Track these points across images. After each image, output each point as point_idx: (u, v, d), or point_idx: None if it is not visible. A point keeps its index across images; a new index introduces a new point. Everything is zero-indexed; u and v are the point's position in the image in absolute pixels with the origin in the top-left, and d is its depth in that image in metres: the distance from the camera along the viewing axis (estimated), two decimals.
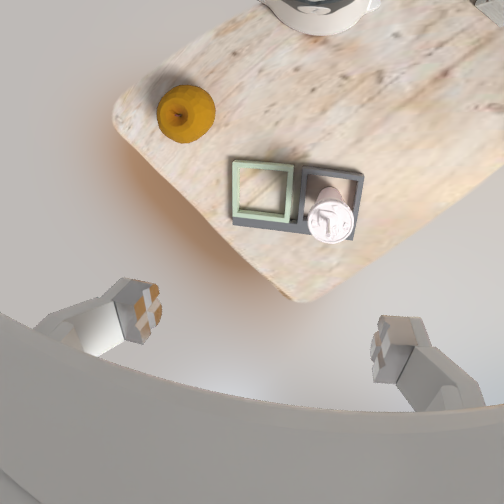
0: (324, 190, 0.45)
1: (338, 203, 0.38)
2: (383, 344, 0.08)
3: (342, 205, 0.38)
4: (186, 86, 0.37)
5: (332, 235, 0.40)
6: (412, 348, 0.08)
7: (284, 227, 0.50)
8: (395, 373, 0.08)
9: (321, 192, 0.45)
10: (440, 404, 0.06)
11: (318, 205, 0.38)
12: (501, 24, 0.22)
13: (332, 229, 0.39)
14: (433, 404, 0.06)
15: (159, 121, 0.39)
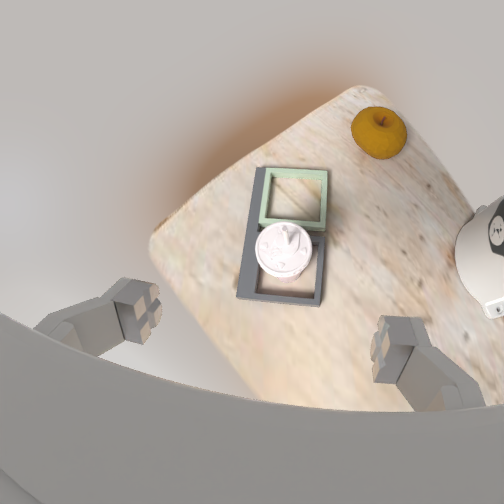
0: None
1: (309, 254, 0.32)
2: (383, 344, 0.08)
3: (307, 259, 0.32)
4: (406, 133, 0.39)
5: (266, 250, 0.33)
6: (412, 348, 0.08)
7: (252, 218, 0.44)
8: (395, 373, 0.08)
9: None
10: (440, 404, 0.06)
11: (305, 232, 0.33)
12: None
13: (275, 249, 0.33)
14: (433, 404, 0.06)
15: (375, 107, 0.40)
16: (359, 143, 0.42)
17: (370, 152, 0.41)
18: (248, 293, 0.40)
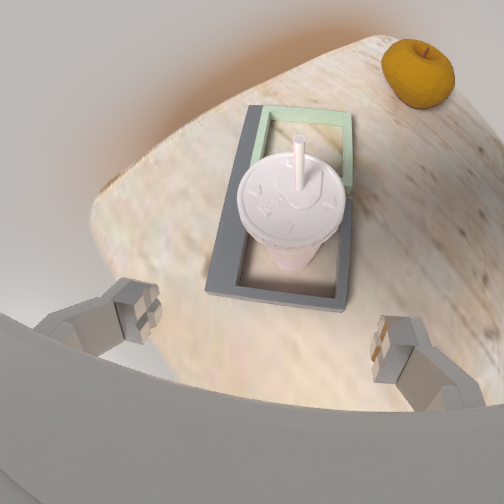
0: None
1: (341, 209, 0.16)
2: (383, 344, 0.08)
3: (337, 217, 0.16)
4: None
5: (258, 198, 0.17)
6: (412, 348, 0.08)
7: (239, 169, 0.28)
8: (395, 373, 0.08)
9: None
10: (440, 404, 0.06)
11: (332, 170, 0.17)
12: None
13: (276, 196, 0.17)
14: (433, 404, 0.06)
15: None
16: (394, 80, 0.26)
17: (410, 92, 0.25)
18: (225, 285, 0.24)
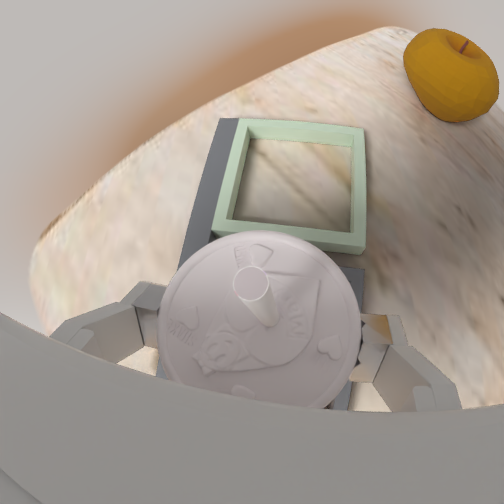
0: None
1: (351, 362, 0.08)
2: None
3: (341, 381, 0.08)
4: None
5: (192, 335, 0.09)
6: (387, 347, 0.08)
7: (199, 218, 0.19)
8: (371, 372, 0.08)
9: None
10: (412, 405, 0.06)
11: (339, 275, 0.09)
12: None
13: (224, 336, 0.08)
14: (406, 405, 0.06)
15: None
16: (423, 83, 0.18)
17: (445, 100, 0.17)
18: None
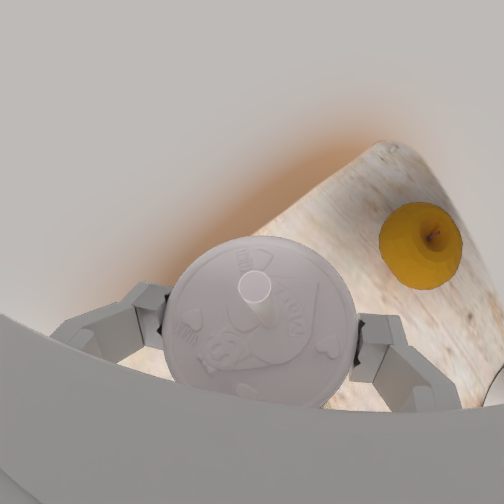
0: None
1: (348, 361, 0.08)
2: (358, 342, 0.09)
3: (339, 379, 0.08)
4: None
5: (197, 336, 0.09)
6: (387, 347, 0.08)
7: None
8: (371, 372, 0.08)
9: None
10: (412, 405, 0.06)
11: (336, 278, 0.09)
12: None
13: (227, 337, 0.09)
14: (406, 405, 0.06)
15: (423, 205, 0.25)
16: (389, 266, 0.27)
17: (404, 283, 0.26)
18: None
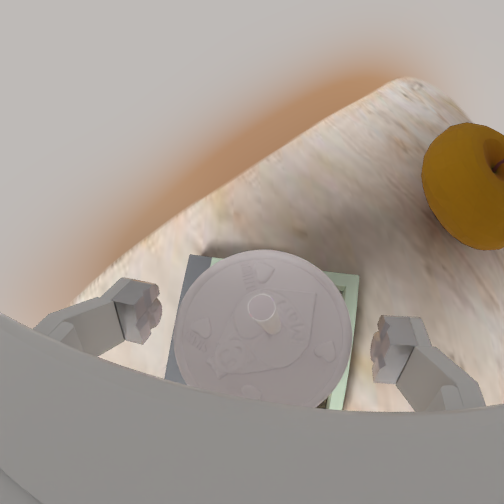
0: None
1: (344, 364, 0.09)
2: (383, 344, 0.08)
3: (335, 380, 0.09)
4: None
5: (206, 343, 0.10)
6: (412, 348, 0.08)
7: None
8: (395, 373, 0.08)
9: None
10: (440, 404, 0.06)
11: (333, 288, 0.10)
12: None
13: (234, 343, 0.10)
14: (433, 404, 0.06)
15: (479, 125, 0.14)
16: (442, 212, 0.16)
17: (465, 239, 0.15)
18: None
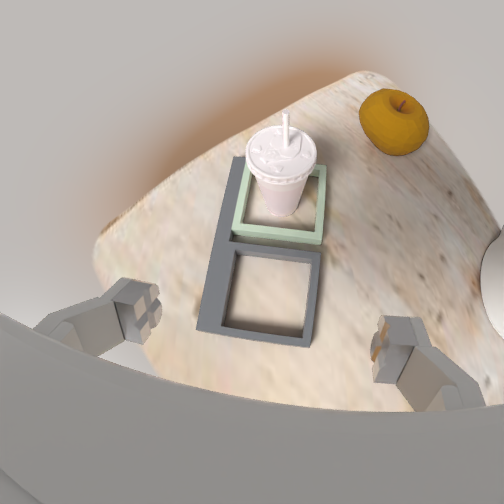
0: None
1: (314, 158, 0.25)
2: (383, 344, 0.08)
3: (311, 162, 0.25)
4: (428, 125, 0.29)
5: (259, 153, 0.25)
6: (412, 348, 0.08)
7: (224, 222, 0.32)
8: (395, 373, 0.08)
9: None
10: (440, 404, 0.06)
11: (307, 135, 0.26)
12: None
13: (271, 150, 0.25)
14: (433, 404, 0.06)
15: None
16: (369, 132, 0.32)
17: (383, 144, 0.31)
18: (212, 326, 0.29)
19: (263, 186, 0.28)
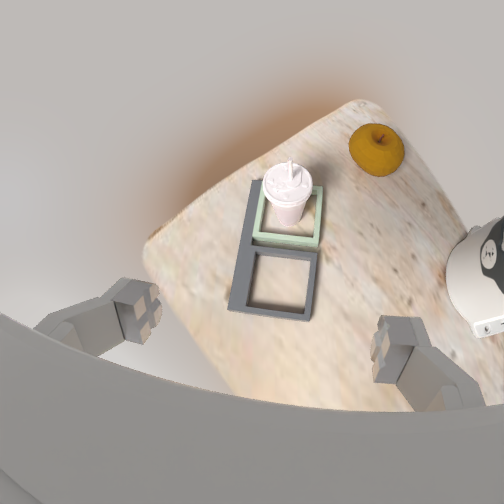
0: None
1: (310, 187, 0.36)
2: (383, 344, 0.08)
3: (308, 191, 0.36)
4: None
5: (272, 184, 0.37)
6: (412, 348, 0.08)
7: (246, 231, 0.44)
8: (395, 373, 0.08)
9: None
10: (440, 404, 0.06)
11: (306, 170, 0.37)
12: None
13: (280, 183, 0.37)
14: (433, 404, 0.06)
15: None
16: (356, 160, 0.43)
17: (366, 169, 0.42)
18: (239, 306, 0.41)
19: (275, 207, 0.39)
